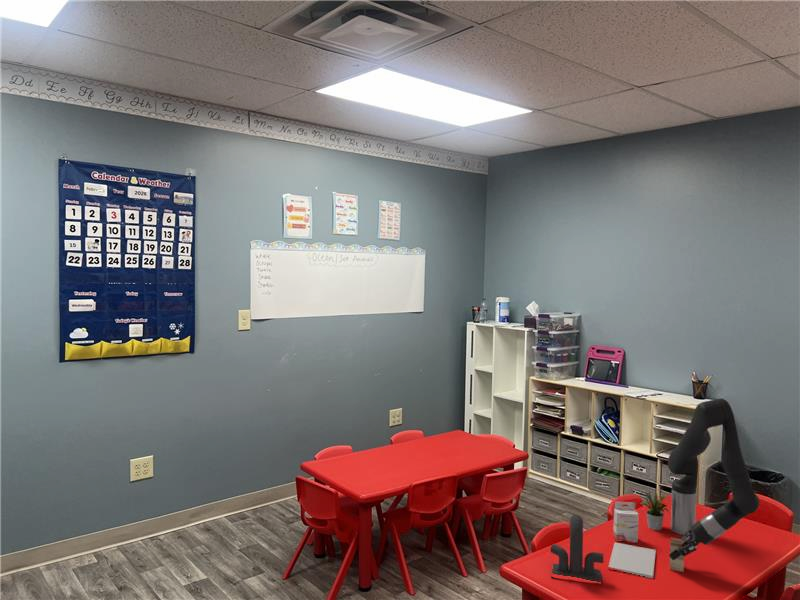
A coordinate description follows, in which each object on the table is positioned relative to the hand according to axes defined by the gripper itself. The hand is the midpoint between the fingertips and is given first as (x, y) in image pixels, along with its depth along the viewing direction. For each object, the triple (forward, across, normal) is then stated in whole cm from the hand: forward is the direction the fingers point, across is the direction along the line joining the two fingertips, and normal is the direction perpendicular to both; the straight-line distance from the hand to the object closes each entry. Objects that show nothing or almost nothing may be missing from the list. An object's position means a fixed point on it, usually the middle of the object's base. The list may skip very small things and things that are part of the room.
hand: (671, 554), depth 220 cm
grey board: (+13, +1, -6) cm, 14 cm away
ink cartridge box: (+16, -17, -9) cm, 25 cm away
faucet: (+26, +18, -19) cm, 36 cm away
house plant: (+9, -34, -2) cm, 35 cm away
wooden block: (+2, 0, +5) cm, 5 cm away
